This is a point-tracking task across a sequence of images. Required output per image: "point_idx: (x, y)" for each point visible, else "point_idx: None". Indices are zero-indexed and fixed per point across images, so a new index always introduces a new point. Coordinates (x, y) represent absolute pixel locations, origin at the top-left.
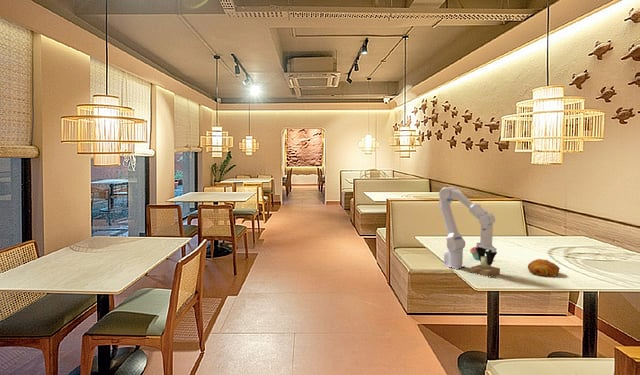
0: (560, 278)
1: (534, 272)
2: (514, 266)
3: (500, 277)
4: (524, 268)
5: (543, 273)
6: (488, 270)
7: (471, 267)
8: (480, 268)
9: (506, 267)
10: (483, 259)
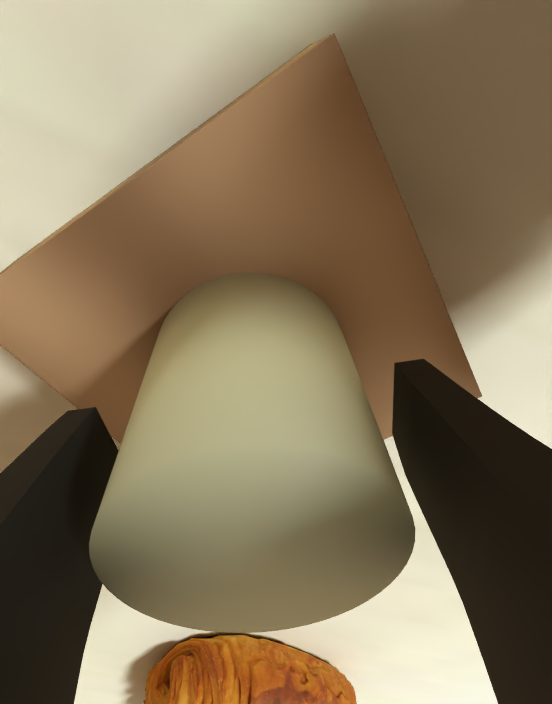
0: (114, 695)
1: (179, 659)
2: (448, 606)
3: (49, 409)
4: (375, 633)
5: (146, 685)
6: (29, 330)
7: (327, 41)
8: (181, 234)
9: (442, 562)
10: (148, 435)
